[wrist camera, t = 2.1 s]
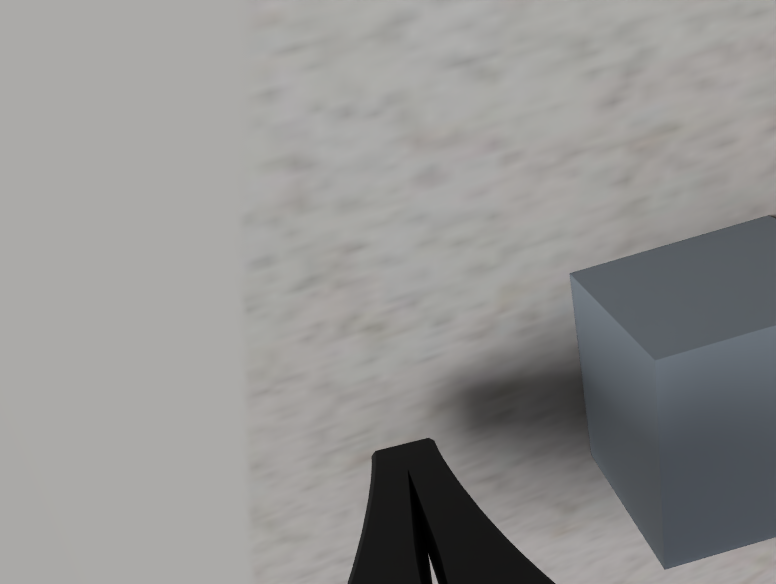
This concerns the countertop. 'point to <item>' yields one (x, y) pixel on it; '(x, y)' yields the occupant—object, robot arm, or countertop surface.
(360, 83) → the countertop surface
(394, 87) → the countertop surface
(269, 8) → the countertop surface
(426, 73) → the countertop surface
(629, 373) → the slate block
